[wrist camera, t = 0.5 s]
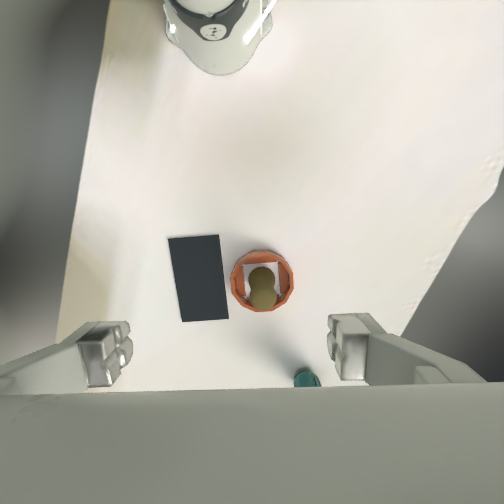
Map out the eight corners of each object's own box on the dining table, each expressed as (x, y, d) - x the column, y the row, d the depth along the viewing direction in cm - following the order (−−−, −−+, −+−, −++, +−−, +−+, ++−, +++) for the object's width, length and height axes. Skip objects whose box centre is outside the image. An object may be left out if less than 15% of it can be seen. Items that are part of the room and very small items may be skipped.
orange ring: (228, 252, 55) (227, 255, 53) (290, 248, 55) (291, 250, 53) (234, 308, 59) (234, 313, 56) (293, 304, 58) (294, 309, 56)
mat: (168, 238, 55) (168, 239, 54) (218, 234, 54) (218, 235, 54) (182, 321, 60) (182, 322, 59) (228, 317, 59) (228, 318, 59)
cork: (279, 285, 57) (285, 307, 46) (255, 296, 58) (255, 320, 47) (268, 262, 56) (271, 280, 45) (243, 273, 57) (241, 293, 46)
